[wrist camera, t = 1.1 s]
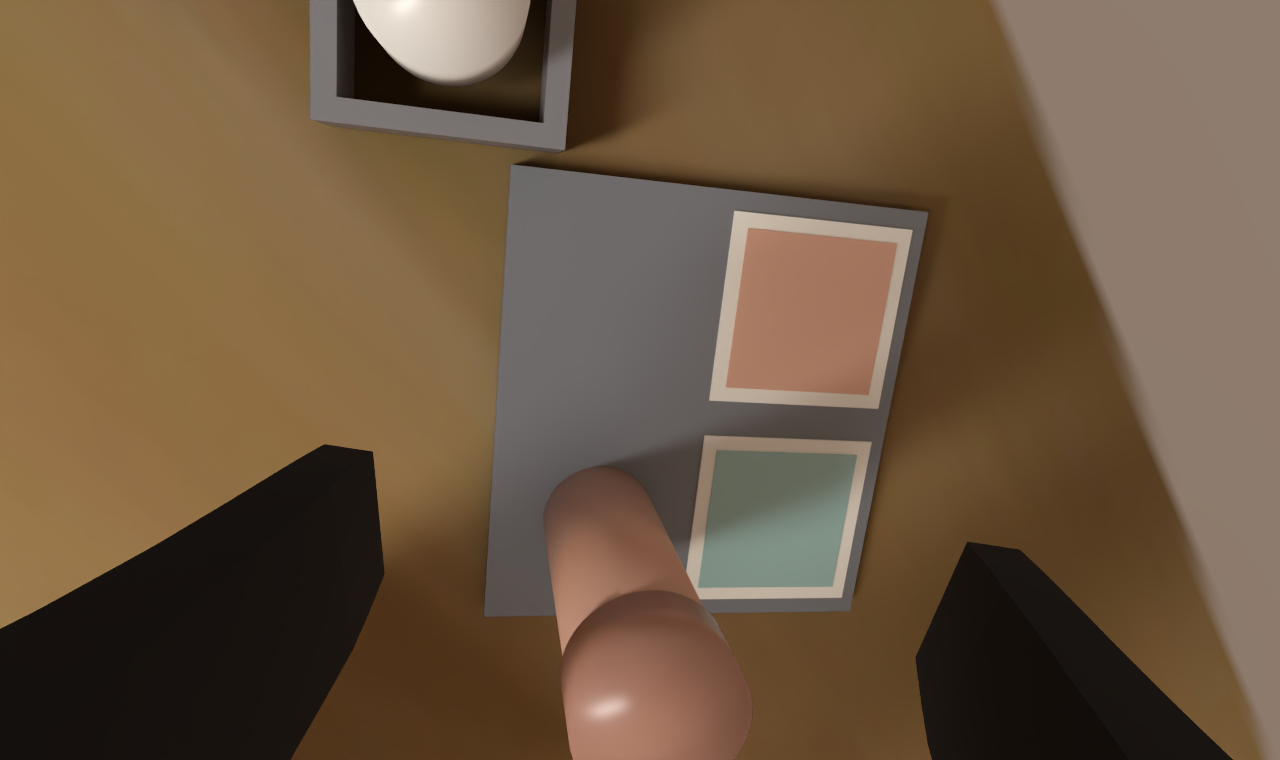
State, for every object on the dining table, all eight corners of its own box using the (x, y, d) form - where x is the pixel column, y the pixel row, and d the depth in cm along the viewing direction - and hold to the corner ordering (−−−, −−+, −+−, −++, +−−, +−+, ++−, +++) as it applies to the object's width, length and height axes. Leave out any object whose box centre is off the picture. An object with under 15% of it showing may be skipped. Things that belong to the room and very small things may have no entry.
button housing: (557, 153, 18) (564, 150, 16) (330, 126, 17) (309, 119, 15) (574, -85, 17) (585, -119, 15) (331, -131, 15) (309, -174, 14)
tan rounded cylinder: (648, 570, 21) (739, 796, 13) (535, 570, 20) (561, 808, 12) (661, 464, 20) (765, 639, 12) (544, 461, 19) (577, 644, 12)
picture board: (841, 600, 23) (851, 612, 22) (484, 604, 21) (483, 619, 20) (916, 211, 20) (930, 212, 19) (510, 165, 18) (511, 164, 17)
